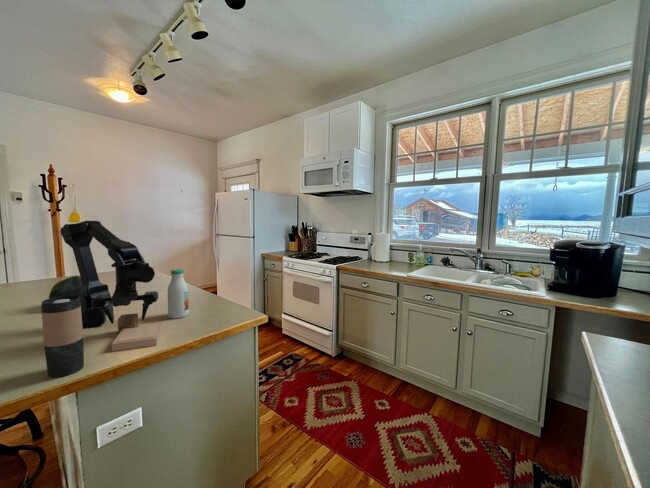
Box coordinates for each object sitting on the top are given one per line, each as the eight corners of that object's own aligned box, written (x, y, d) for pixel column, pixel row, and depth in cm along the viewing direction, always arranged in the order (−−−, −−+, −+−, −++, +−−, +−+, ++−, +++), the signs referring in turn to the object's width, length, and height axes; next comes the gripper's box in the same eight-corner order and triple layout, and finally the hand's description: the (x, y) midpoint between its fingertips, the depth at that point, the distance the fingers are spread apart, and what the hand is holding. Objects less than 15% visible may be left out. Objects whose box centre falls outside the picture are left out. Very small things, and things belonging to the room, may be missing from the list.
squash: (51, 292, 125) (48, 272, 117) (93, 288, 135) (94, 269, 127) (49, 319, 118) (46, 299, 110) (94, 313, 128) (94, 294, 120)
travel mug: (92, 362, 78) (88, 295, 76) (68, 378, 70) (62, 304, 68) (65, 362, 78) (60, 295, 76) (37, 378, 70) (31, 303, 68)
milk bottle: (179, 319, 111) (178, 272, 109) (163, 318, 112) (162, 270, 110) (192, 313, 118) (191, 268, 116) (177, 311, 120) (176, 267, 118)
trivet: (111, 351, 84) (111, 343, 84) (123, 335, 95) (122, 328, 95) (156, 345, 89) (156, 337, 89) (162, 330, 100) (162, 323, 100)
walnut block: (118, 336, 95) (117, 319, 95) (122, 330, 100) (121, 314, 99) (135, 333, 97) (134, 317, 97) (138, 328, 102) (137, 313, 101)
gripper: (83, 287, 86) (86, 334, 87) (152, 283, 93) (154, 326, 95) (96, 279, 96) (99, 322, 97) (157, 276, 103) (159, 315, 105)
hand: (128, 321), depth 98 cm, fingers open, 9 cm apart
